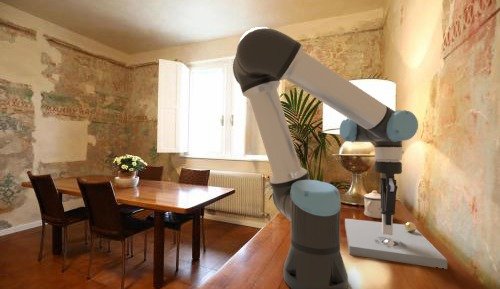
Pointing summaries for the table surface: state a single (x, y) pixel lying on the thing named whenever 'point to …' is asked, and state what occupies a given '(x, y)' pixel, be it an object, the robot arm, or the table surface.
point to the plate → (405, 250)
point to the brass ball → (410, 227)
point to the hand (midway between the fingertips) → (387, 233)
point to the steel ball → (389, 242)
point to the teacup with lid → (372, 205)
